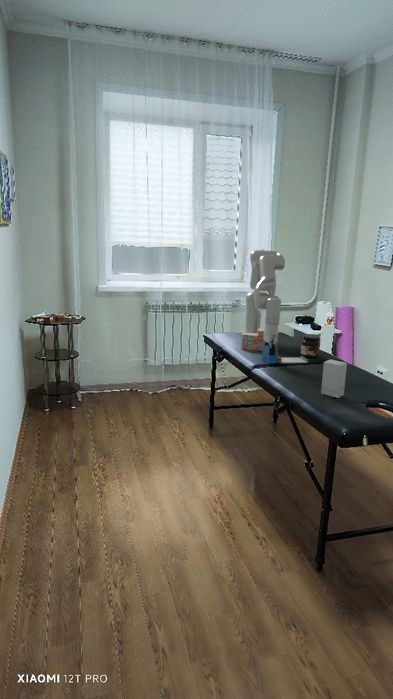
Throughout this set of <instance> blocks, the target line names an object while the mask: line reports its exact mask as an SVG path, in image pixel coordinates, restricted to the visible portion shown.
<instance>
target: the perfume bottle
mask: <svg viewBox="0 0 393 699" xmlns="http://www.w3.org/2000/svg"><path fill="white" fill-rule="evenodd" d="M271 342H274V341H271ZM269 348H270V343H268V345H266V346H265V347H264V348H263V350H262V351H261V352H262V353H261V361H262V362H264V363H266V364H269V365H270V364H277V363H278V356H279V350H278V349H277V348H276V349H275V355H269Z"/></svg>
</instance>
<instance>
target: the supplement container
mask: <svg viewBox="0 0 393 699" xmlns="http://www.w3.org/2000/svg"><path fill="white" fill-rule="evenodd" d="M320 340H321V336H319V335H317V334H311V333H308V334H303V335H302V340H301V346H300V356H303V357H304V358H306V359H317V358H318V357H319V356H320V347H321V342H320Z"/></svg>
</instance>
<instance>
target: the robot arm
mask: <svg viewBox="0 0 393 699" xmlns="http://www.w3.org/2000/svg"><path fill="white" fill-rule="evenodd" d="M249 260H250V264H251V265H250V266H251V272H250V281H249V288H250V289H251V290H252V291H249V292H248V293H246V296H245V308H246V309H245V325H244V333H257V332H258V329H261V321H262V320H261V319H262V313H261V311H260V310H265V316H264V317H265V318H264V319H265V320H264V328H263V329H264V335H263V339H264V340H265V346H266V345H268V343H270V348H269V355H275V349H276V344H277V338H278V331H279V325H280V319H281V318H280V317H281V307H282V299H281V298H280V297H279V296H278V295H276V287H277V277H276V276H277V275H276V271H283V270H284V269H285V266H286V260H285V257H284V256H283V254H282V253H281V252H280V251H278V250H265V249H258V250H256V249H255V250H252V251H251V252H250V254H249ZM271 341H274V342H271ZM265 346H264V347H265Z"/></svg>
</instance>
